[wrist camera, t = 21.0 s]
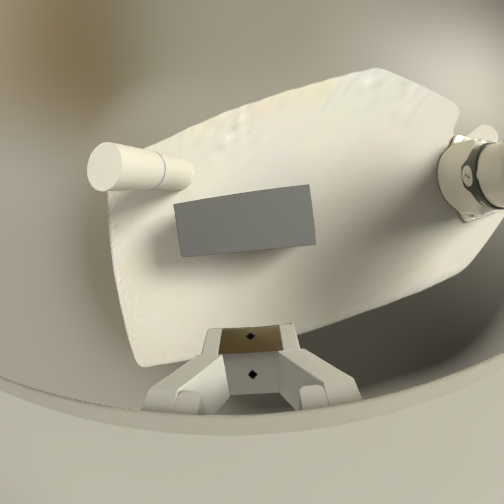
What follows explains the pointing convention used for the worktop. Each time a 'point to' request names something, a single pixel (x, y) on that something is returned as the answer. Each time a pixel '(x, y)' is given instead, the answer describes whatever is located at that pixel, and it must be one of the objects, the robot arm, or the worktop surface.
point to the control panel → (246, 222)
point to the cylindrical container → (136, 169)
